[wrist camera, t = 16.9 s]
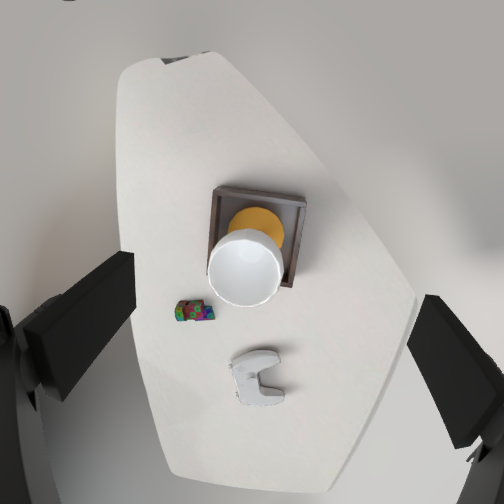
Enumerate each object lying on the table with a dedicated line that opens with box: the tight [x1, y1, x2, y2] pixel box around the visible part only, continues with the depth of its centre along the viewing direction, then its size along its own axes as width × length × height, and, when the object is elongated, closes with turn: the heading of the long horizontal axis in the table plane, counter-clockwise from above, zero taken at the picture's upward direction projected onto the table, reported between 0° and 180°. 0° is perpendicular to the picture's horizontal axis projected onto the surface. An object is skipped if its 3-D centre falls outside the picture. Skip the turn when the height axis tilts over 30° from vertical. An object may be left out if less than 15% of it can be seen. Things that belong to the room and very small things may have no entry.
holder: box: [206, 186, 307, 288], centre depth 48 cm, size 14×14×4 cm
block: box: [175, 300, 215, 321], centre depth 55 cm, size 6×4×3 cm
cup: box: [207, 207, 284, 307], centre depth 42 cm, size 9×9×16 cm
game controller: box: [229, 350, 285, 406], centre depth 58 cm, size 14×4×10 cm
